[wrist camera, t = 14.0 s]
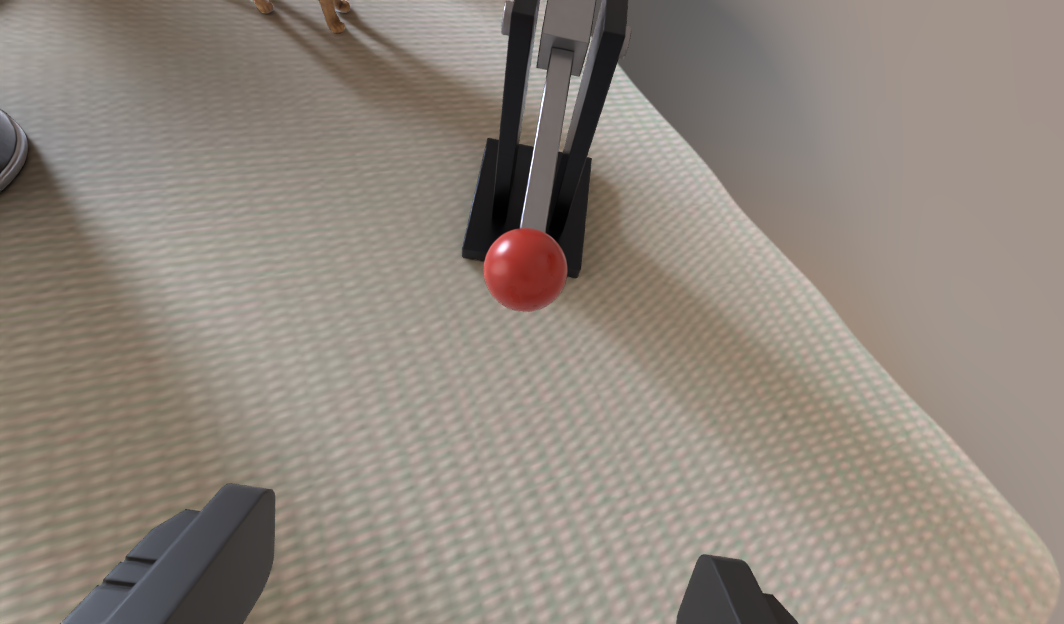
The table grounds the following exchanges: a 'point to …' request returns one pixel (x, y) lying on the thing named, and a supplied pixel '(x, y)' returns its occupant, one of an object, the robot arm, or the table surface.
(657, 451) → the table surface
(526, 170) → the switch bracket
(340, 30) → the lion figurine
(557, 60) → the switch
